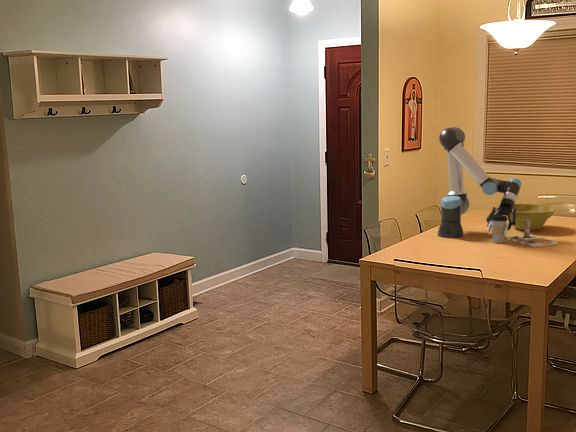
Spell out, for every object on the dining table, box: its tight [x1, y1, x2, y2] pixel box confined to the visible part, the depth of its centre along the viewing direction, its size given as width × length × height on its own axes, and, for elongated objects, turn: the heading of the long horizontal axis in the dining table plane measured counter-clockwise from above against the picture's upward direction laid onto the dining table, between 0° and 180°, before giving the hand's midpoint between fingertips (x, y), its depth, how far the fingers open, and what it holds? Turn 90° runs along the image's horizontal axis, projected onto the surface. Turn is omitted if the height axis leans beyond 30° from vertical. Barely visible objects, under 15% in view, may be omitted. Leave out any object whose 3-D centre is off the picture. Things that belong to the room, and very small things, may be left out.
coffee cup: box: [491, 214, 508, 244], centre depth 359 cm, size 9×9×15 cm
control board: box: [507, 220, 558, 248], centre depth 356 cm, size 22×16×12 cm
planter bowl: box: [510, 203, 557, 232], centre depth 394 cm, size 32×32×13 cm
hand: (496, 232), depth 357 cm, fingers closed on coffee cup, 9 cm apart
